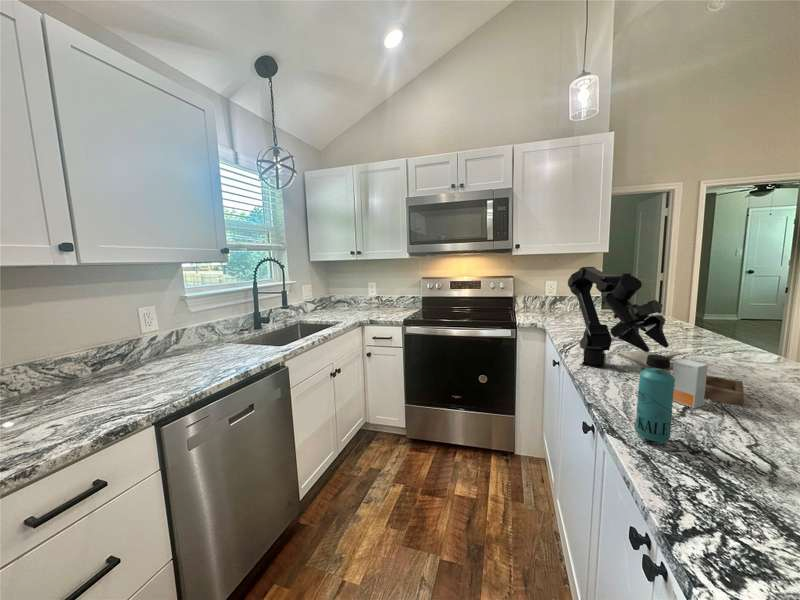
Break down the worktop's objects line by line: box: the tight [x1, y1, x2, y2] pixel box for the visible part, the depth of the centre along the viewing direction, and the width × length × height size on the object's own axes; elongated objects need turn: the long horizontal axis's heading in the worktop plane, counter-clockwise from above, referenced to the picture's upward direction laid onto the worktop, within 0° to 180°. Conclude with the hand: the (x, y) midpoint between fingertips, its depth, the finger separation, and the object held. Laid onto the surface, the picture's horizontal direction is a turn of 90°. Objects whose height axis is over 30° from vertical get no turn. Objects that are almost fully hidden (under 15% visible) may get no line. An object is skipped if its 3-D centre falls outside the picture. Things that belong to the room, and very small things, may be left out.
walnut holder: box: [704, 375, 745, 407], centre depth 96 cm, size 12×12×4 cm
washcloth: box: [616, 349, 675, 370], centre depth 125 cm, size 12×18×3 cm, turn 2°
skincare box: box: [671, 358, 708, 409], centre depth 90 cm, size 6×4×12 cm
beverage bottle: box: [634, 354, 675, 443], centre depth 72 cm, size 6×7×20 cm
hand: (657, 349), depth 96 cm, fingers open, 9 cm apart
